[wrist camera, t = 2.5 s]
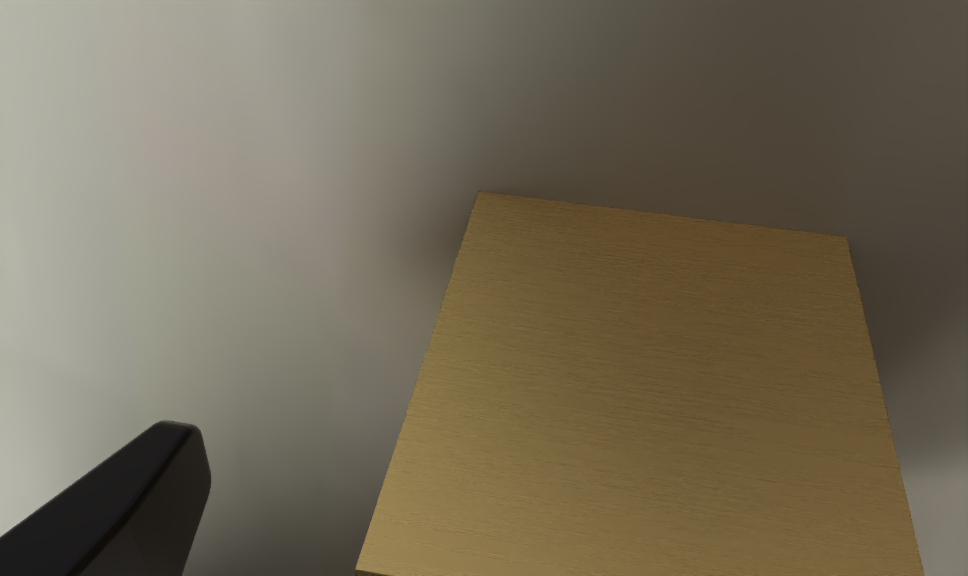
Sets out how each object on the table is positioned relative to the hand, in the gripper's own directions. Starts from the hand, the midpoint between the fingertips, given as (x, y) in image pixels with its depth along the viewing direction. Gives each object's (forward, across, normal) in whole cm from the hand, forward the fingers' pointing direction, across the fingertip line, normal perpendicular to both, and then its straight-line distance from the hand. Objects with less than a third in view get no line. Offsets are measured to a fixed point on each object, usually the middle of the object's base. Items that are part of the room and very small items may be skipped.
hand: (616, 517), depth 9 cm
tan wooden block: (+3, 0, 0) cm, 3 cm away
